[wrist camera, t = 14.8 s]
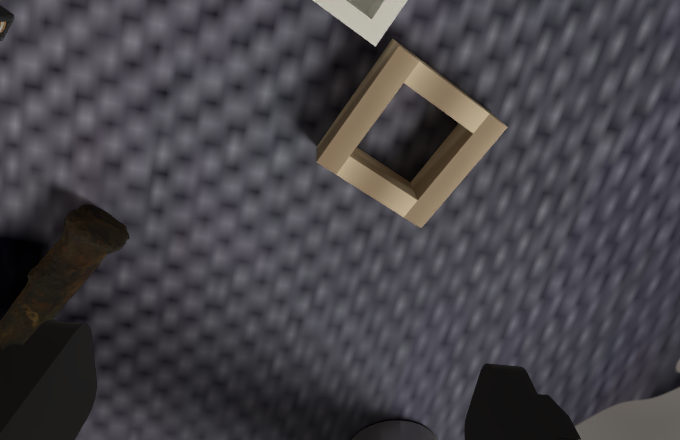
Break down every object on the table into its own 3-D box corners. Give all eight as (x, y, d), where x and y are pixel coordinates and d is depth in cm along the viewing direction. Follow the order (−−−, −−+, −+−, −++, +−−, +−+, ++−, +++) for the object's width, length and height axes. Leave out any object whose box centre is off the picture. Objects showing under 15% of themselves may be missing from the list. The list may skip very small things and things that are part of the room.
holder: (492, 114, 34) (507, 127, 31) (413, 208, 37) (421, 228, 34) (392, 38, 31) (399, 45, 29) (316, 146, 34) (316, 162, 32)
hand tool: (89, 192, 36) (58, 223, 32) (136, 227, 37) (113, 261, 33) (-39, 343, 41) (-80, 385, 37) (6, 368, 43) (-28, 411, 39)
